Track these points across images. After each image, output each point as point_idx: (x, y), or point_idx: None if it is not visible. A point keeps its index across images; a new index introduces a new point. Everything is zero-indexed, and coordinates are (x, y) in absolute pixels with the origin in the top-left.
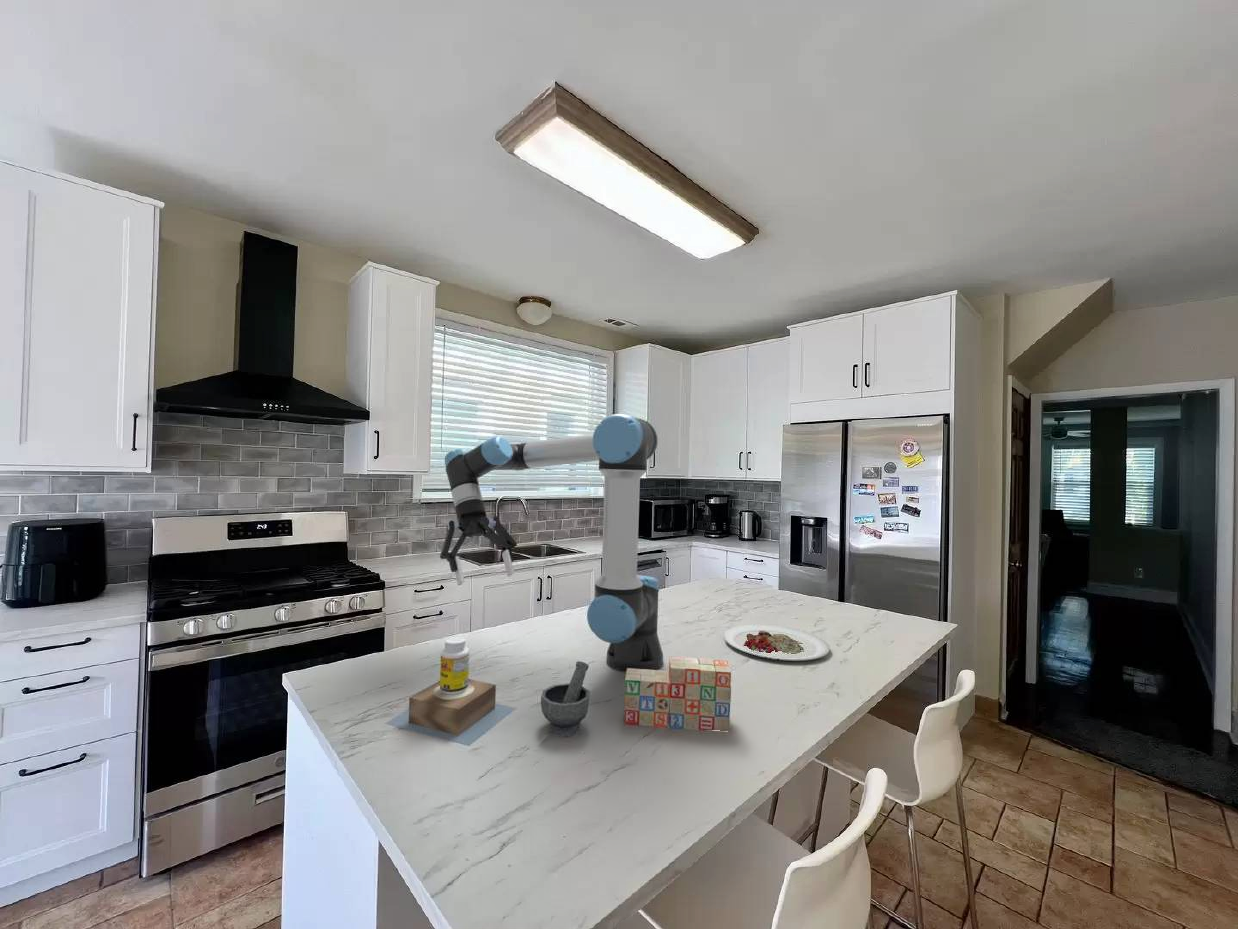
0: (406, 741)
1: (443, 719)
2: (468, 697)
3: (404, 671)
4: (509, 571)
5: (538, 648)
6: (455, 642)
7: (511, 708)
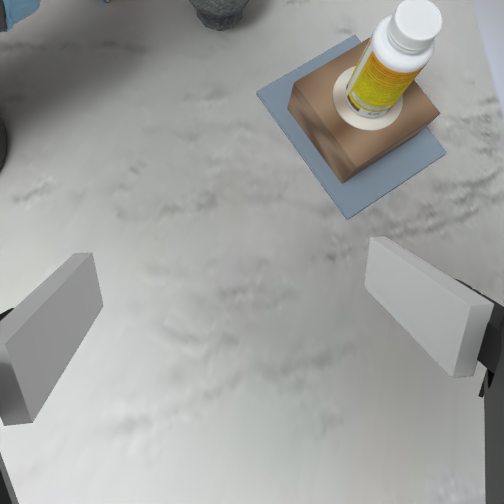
0: None
1: None
2: (352, 62)
3: (387, 359)
4: (89, 282)
5: None
6: (423, 1)
7: (264, 94)
